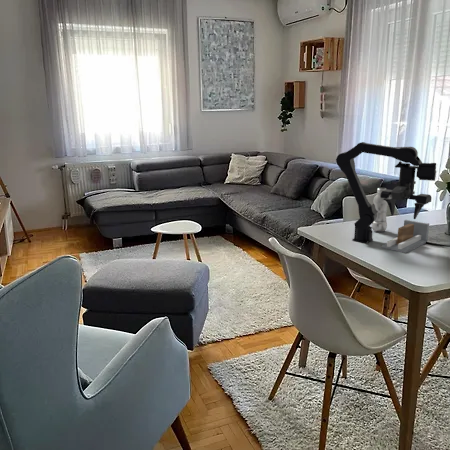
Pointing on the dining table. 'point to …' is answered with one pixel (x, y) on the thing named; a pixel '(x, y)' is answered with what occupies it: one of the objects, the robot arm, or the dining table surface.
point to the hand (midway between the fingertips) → (403, 217)
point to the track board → (417, 240)
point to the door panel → (405, 233)
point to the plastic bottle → (380, 212)
